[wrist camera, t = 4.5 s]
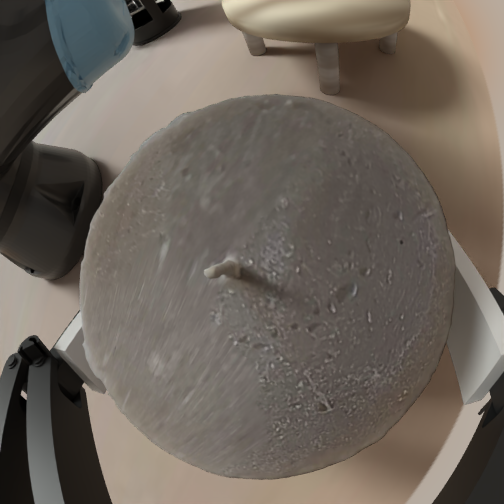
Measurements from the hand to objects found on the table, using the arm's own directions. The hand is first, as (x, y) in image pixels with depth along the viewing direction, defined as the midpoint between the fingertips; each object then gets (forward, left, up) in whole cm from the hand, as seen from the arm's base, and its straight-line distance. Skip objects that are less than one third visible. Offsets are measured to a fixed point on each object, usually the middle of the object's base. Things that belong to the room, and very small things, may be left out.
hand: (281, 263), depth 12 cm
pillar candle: (+1, -1, -7) cm, 8 cm away
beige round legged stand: (-15, +19, -7) cm, 25 cm away
